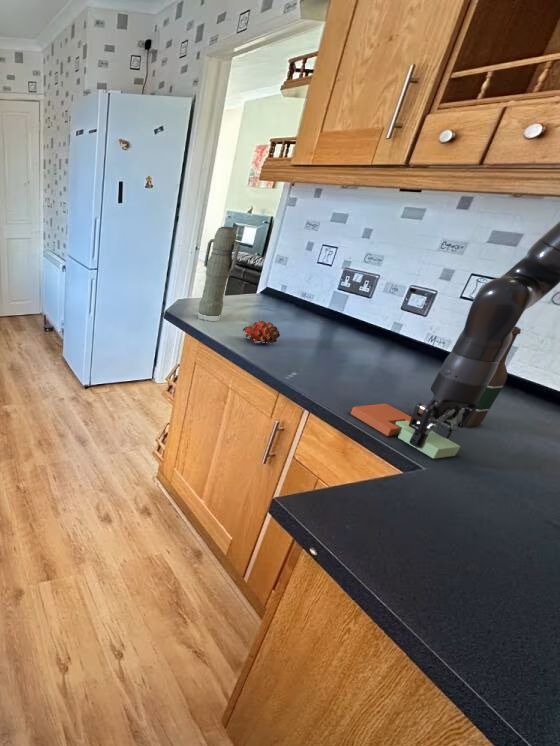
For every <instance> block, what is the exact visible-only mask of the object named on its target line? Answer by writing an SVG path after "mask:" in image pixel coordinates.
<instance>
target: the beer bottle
mask: <svg viewBox="0 0 560 746" xmlns="http://www.w3.org/2000/svg"><path fill="white" fill-rule="evenodd" d="M521 330H522V329H521V328H520V327H518V326H517V325H516V326H515V327H514V329H513V331H512V340H511V342H510V344H509V346H508V348H507V350H506V351H505V353H504V355H503V357H502V358H501V360H500V362H499V364H498V367H497V370H496V372H495V374H494V376H493V377H492V379H491V381H490V382H489V384H488V386H487V388H486V389H485V391H484V393H483V394H482V396H481V398H480V400H479V401H478V402H477V403H478V404H479V406H478V408H477V409H476V411H475V412H474V413H473V415H472V416H471V418H470V419H469V420H468V422H467V423H466V425H465V426H464V427H467V428H473V427H478V426H480V425H481V423H482V422H484V421H483V420H484V419H485V418H486V416H487V414H488V413H489V411H490V409H491V408H492V406H493V404H494V403H495V401H496V399H497V398H498V396H499V394H500V393H501V391H502V389H503V387H504V385H505V383H506V382H507V379H508V370H507V367H506V361H507V357H508V355H509V353H510V351H511V349H512V346H513V345H514V342H515V340H516V338H517V336H518V335H520V334H521ZM462 419H463V416H462Z"/></svg>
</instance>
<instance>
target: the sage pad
mask: <svg viewBox="0 0 560 746" xmlns="http://www.w3.org/2000/svg"><path fill="white" fill-rule="evenodd" d="M409 423H410V422H409V421H407V420H406V421H397V422H396V424H395V425H396V426H397V427H399V430H398V432H397V434H396V435H397V438H398V439H399V440H401V441H403V442H404V443H406V444H408V445H410V446H411V447H413V448H414V449H417V450H418V451H419V452H421V453H423V454H424V455H426V456H428V457H430V458H431V459H434V460H435V459H441V458H447V457H448V458H449V457H456V456H457V454H458V452H459V450H460V448H461V445H459V444H457V443H455V442H453V441H452V440H450V439H449V438H448V439H446V438H444V437H442V436H441V435H439V434H437V433H436V431H433V430H431V432H430V433H429V435H428V436H427V438H426V440H425V442H424V443H423V445H422V447H420V448H416V447H415V446H413V445H411V444H410V443H409V441H410V439H411V437H412V435H413V433H414V432H415V429H413V428H411V427H409Z"/></svg>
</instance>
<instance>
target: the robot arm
mask: <svg viewBox="0 0 560 746" xmlns="http://www.w3.org/2000/svg"><path fill="white" fill-rule="evenodd" d="M559 284H560V220H559V221H558V222H557V223H556V224H555V225H553V226H552V227H551V228H550V229H549V230H548V231H547V232H546V233H545V234H544V235H542V236H541V237H540V238H539V239H537V241H536V242H535V243H533V244H532V245H531V247H529V249H528V250H527V252H526V255H525V256H524V257H523V258H521V259H520V260H519V261H518V262H517V263H515V264H514V265H513V266H512V267H510V269H508V270H507V271H506V272H505V273H504V274H503V275H501V276H500V277H497V278H494V279H492V280H490V281H488V282H486V283H485V284H484V285H483V286H482V287H480V288H479V290H478V291H477V293H476V295H475V297H474V298H473V300H472V303H471V305H470V307H469V311H468V314H467V317H466V320H465V323H464V327H463V329H462V331H461V332H460V334H459V336H458V338H457V339H456V341H455V344H454V345H453V347H452V349H451V351H450V353H449V354H448V355H447V356H446V358H444V361H443V363H442V365H441V367H440V368H439V371H438V373H437V374H436V377H435V379H434V381H433V383H432V384H431V386H430V391H431V392H432V394H433V397H432V399H431V400H430V401H429V402H428V403H427V404H424V403H421V402H418V403H417V404H416V405H415V407H414V410H413V413H412V415H411V417H412V418H411V420H410V423H409V427H411V428H413V429H415V432H414V433H413V435H412V437H411V439H410V441H409V443H410V444H411V445H413V446H415V447H416V448H420V447H422V445H423V443H424V442H425V440H426V438H427V436H428V435H429V433H430V432H431V431H433V430H434V429H435V428H437V427H438V428H437V430H436V431H435V433H437V434H439V435H441V436H442V437H444V438H446V439H448V440H449V438H450V436H452V433H453V432H455V431H457V429H459V428H460V429H463V428H465V427H466V426H465V425H466V423H467V422H468V420H469V419H470V418H471V416H472V415H473V413H474V412H475V411H476V409H477V408H478V406H479V404H478V403H477V402H478V401H479V400H480V398H481V396H482V394H483V393H484V391H485V389H486V388H487V386H488V384H489V382H490V381H491V379H492V377H493V376H494V374H495V372H496V370H497V367H498V364H499V362H500V360H501V358H502V357H503V355H504V353H505V351H506V350H507V348H508V346H509V344H510V342H511V340H512V331H513V329H514V327H515V326H516V327H517V325H518V322H519V320H521V317H522V315H523V314H524V312H525V311H526V310H528V309H529V308H531V307H532V306H534V305H535V304H536V303H538V302H539V301H541V300H542V299H543V298H544V297H546V295H548V294H549V293H551V291H552V290H554V288H556V287H557V286H558V285H559ZM462 416H463V419H462ZM431 418H432V419H431ZM417 421H418V423H417ZM428 423H429V424H428ZM411 445H410V446H411ZM413 446H412V447H413ZM415 447H414V448H415ZM416 448H415V449H416Z"/></svg>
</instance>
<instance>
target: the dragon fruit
mask: <svg viewBox="0 0 560 746" xmlns="http://www.w3.org/2000/svg"><path fill="white" fill-rule="evenodd" d="M242 332H244V333H245V334H244V337H245V336H246V337H245V338H247V337H248V336H249V338H250V339H249V340H251V342H254V344H256V345H258V344H259V343H256V342H255V341H261V342H260V343H261V344H262V345H268V343H270V344H271V343H273V342H274V343H276V342H277V341H278V340H277V339H279V338H280V337H281V334H280V331H279V329H278V327H277V326H275V325H274V324H273V323H272V322H271V321H268V322H266V321H264V320H258V322H257V321H256V322H254V323H253V324H250V325H248V326H245V327H244V328H243V329H242ZM253 339H255V340H253ZM262 342H265V343H262ZM266 342H268V343H266Z"/></svg>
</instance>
